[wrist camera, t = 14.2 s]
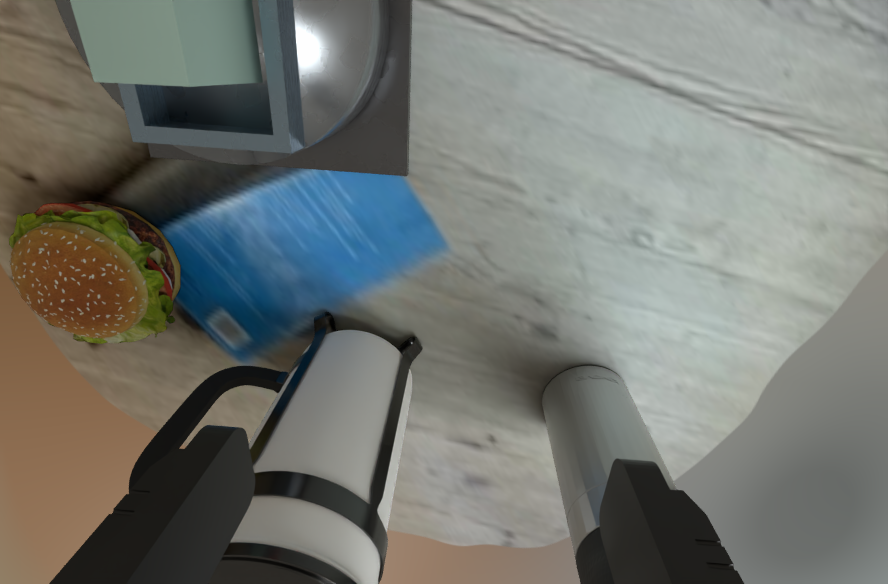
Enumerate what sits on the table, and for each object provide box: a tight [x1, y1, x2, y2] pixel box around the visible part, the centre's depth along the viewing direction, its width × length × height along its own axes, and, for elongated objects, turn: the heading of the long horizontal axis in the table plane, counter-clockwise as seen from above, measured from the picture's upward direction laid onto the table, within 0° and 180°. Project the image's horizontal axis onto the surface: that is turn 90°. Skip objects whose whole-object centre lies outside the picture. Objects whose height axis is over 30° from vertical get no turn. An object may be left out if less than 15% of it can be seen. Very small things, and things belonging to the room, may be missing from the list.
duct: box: [55, 0, 412, 176], centre depth 28 cm, size 22×22×10 cm
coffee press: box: [129, 312, 423, 584], centre depth 34 cm, size 17×16×30 cm
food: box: [9, 201, 180, 344], centre depth 39 cm, size 14×14×8 cm
